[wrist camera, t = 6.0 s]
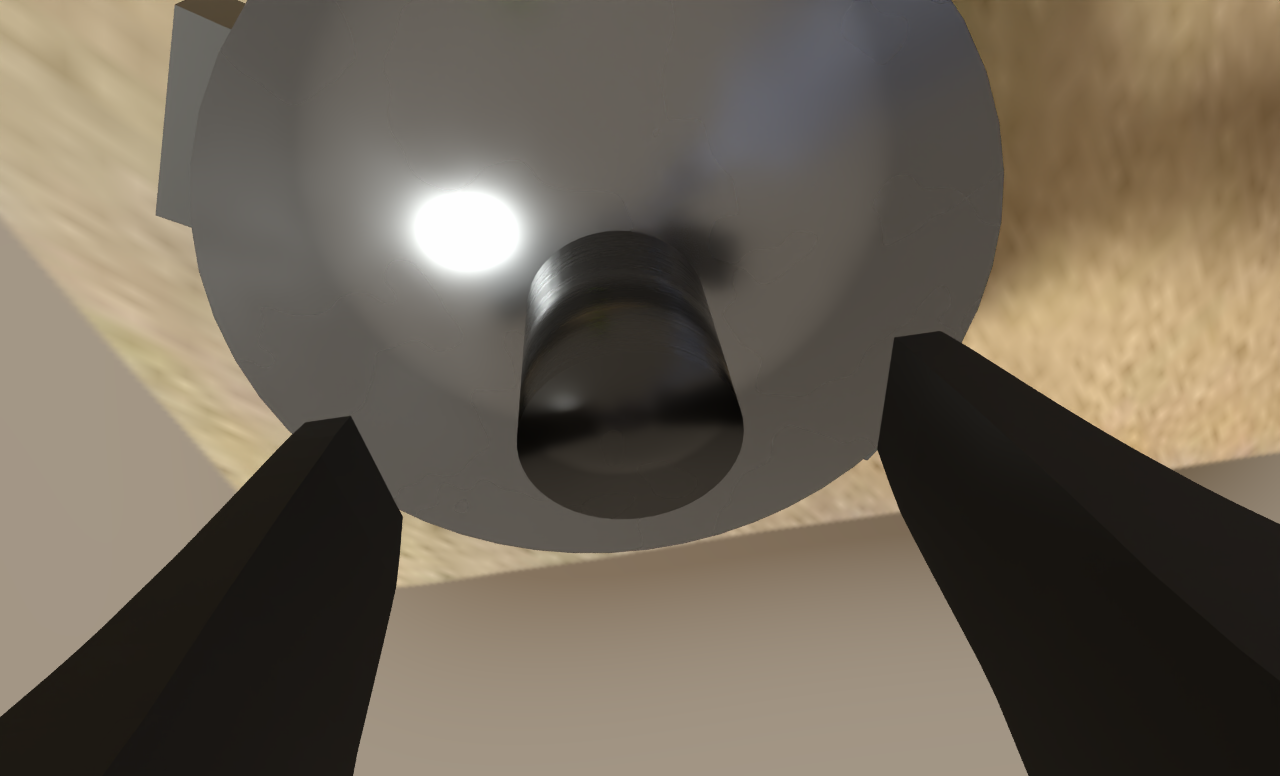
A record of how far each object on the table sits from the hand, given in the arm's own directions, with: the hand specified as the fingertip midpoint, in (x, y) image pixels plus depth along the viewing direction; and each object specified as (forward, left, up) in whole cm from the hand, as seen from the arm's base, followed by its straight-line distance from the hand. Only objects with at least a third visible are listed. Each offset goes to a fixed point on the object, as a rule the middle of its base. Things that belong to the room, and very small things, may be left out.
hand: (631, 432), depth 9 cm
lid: (0, 0, -3) cm, 3 cm away
